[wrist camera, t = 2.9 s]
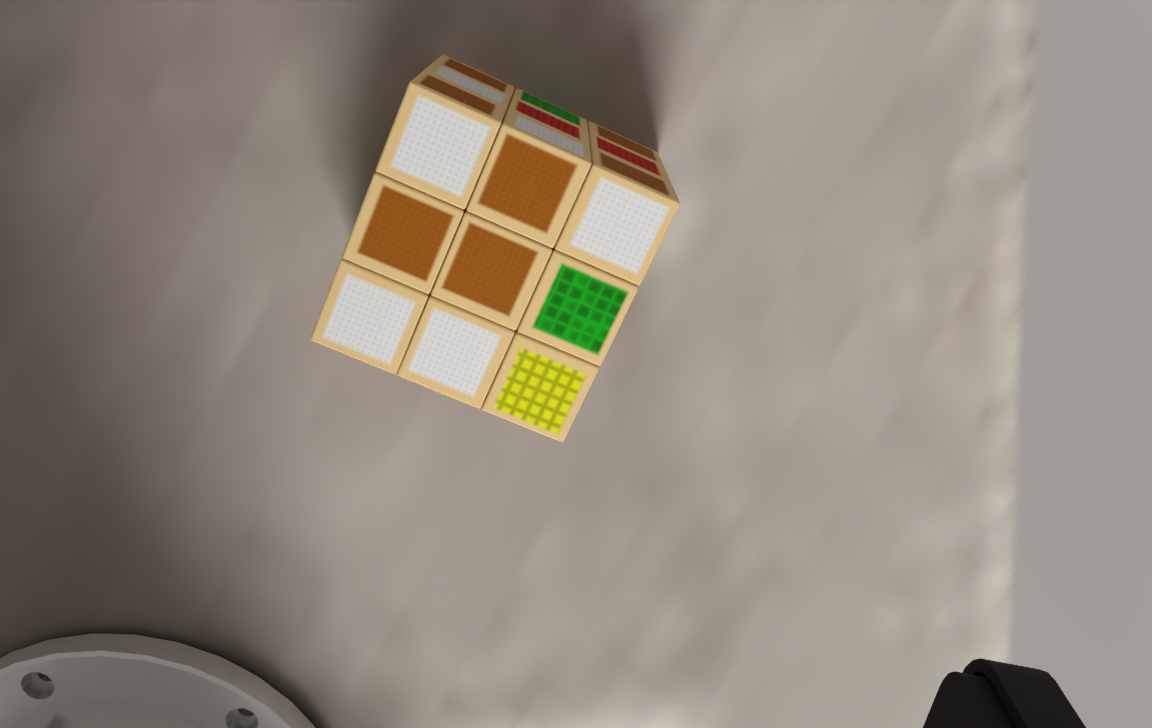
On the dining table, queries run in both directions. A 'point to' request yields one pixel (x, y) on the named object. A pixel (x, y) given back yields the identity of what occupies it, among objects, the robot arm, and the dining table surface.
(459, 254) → the rubik's cube
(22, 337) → the dining table surface
